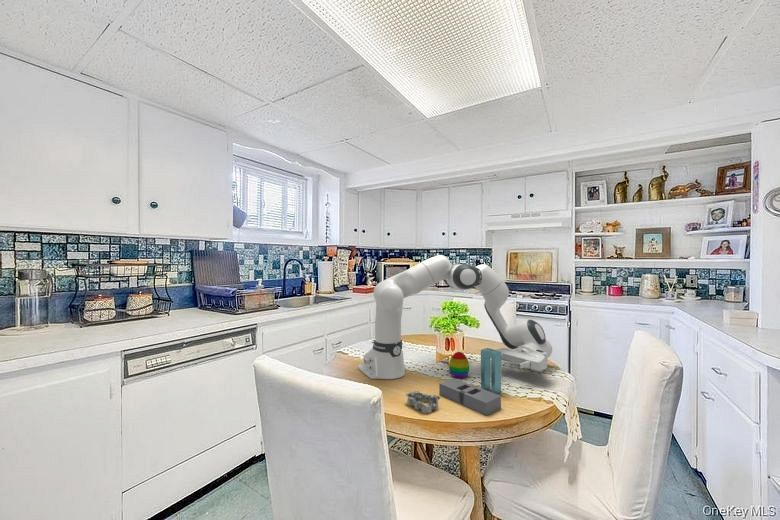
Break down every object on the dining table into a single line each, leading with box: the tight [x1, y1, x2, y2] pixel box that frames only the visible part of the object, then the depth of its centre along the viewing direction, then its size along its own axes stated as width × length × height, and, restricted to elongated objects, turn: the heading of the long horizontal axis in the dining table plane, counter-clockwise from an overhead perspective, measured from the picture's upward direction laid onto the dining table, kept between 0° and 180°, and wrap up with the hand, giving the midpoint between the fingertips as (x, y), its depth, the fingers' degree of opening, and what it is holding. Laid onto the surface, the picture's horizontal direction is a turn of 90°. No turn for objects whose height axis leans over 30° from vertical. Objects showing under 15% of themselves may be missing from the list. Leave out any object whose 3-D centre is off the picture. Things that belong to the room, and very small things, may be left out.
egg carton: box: [405, 390, 441, 414], centre depth 110 cm, size 11×8×4 cm
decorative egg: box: [448, 351, 470, 379], centre depth 136 cm, size 8×8×10 cm
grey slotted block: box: [438, 377, 502, 416], centre depth 113 cm, size 20×8×4 cm, turn 38°
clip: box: [480, 347, 502, 395], centre depth 121 cm, size 6×4×15 cm, turn 38°
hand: (508, 362), depth 129 cm, fingers open, 8 cm apart
